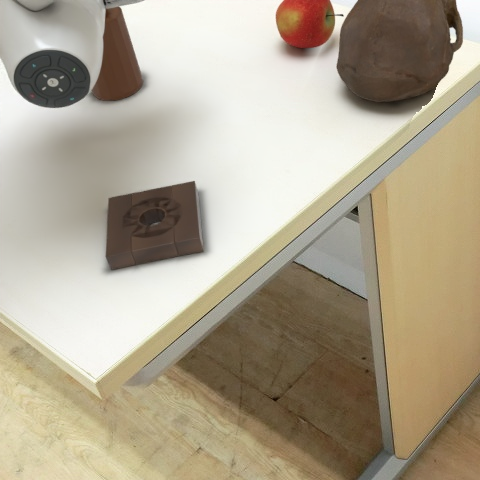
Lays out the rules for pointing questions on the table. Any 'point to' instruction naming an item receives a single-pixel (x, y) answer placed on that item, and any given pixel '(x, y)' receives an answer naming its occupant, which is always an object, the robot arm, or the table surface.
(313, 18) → the apple
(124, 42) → the bottle
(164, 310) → the table surface
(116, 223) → the dark brown square mat
